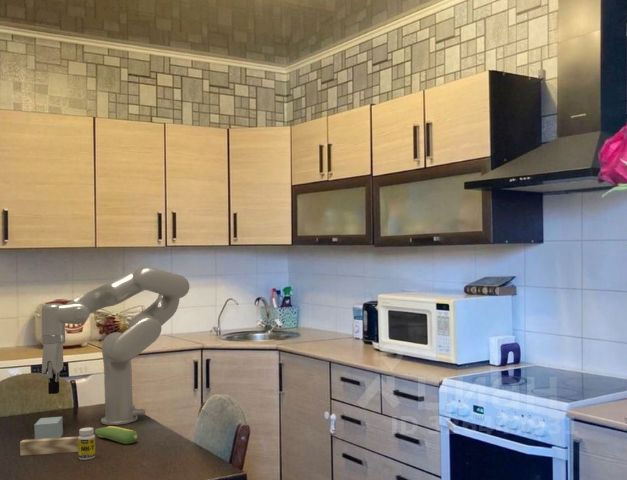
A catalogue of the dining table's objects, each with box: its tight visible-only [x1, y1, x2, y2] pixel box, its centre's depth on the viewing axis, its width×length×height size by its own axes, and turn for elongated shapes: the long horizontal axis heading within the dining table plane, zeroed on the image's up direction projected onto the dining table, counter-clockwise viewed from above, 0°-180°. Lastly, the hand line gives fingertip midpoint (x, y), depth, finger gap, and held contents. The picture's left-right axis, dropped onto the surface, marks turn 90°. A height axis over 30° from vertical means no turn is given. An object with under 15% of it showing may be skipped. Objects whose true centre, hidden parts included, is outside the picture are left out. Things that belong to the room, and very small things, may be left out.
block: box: [33, 416, 64, 439], centre depth 224 cm, size 7×9×6 cm
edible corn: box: [94, 425, 138, 445], centre depth 219 cm, size 5×20×5 cm, turn 52°
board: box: [19, 436, 79, 457], centre depth 208 cm, size 20×2×4 cm, turn 96°
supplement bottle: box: [77, 427, 96, 461], centre depth 201 cm, size 5×5×8 cm
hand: (53, 393), depth 233 cm, fingers closed
